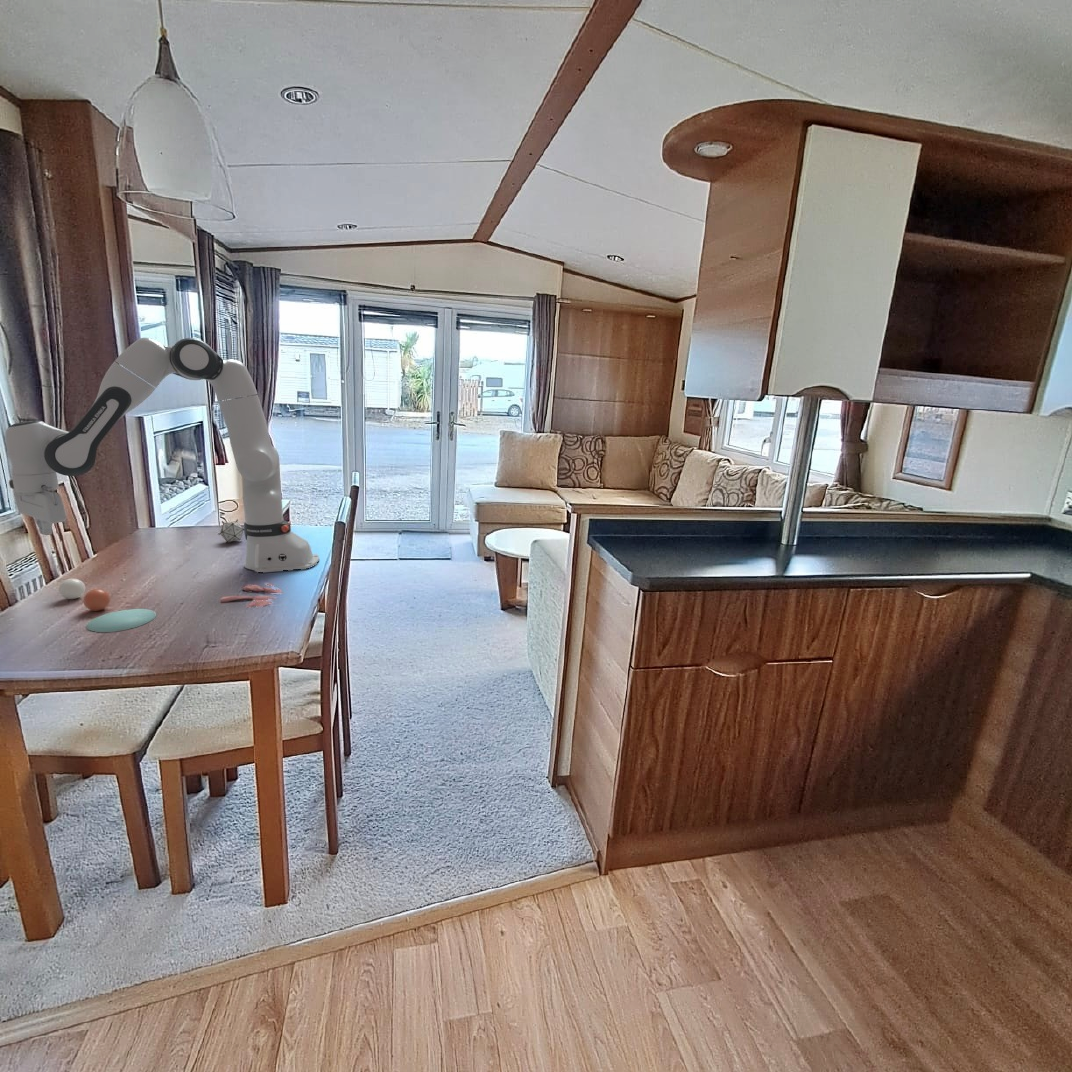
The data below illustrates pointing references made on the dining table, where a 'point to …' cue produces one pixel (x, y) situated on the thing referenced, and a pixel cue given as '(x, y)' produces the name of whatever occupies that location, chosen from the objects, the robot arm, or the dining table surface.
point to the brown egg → (96, 599)
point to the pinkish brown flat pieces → (258, 599)
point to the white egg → (72, 588)
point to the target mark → (121, 620)
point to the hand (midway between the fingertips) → (46, 534)
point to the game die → (231, 531)
